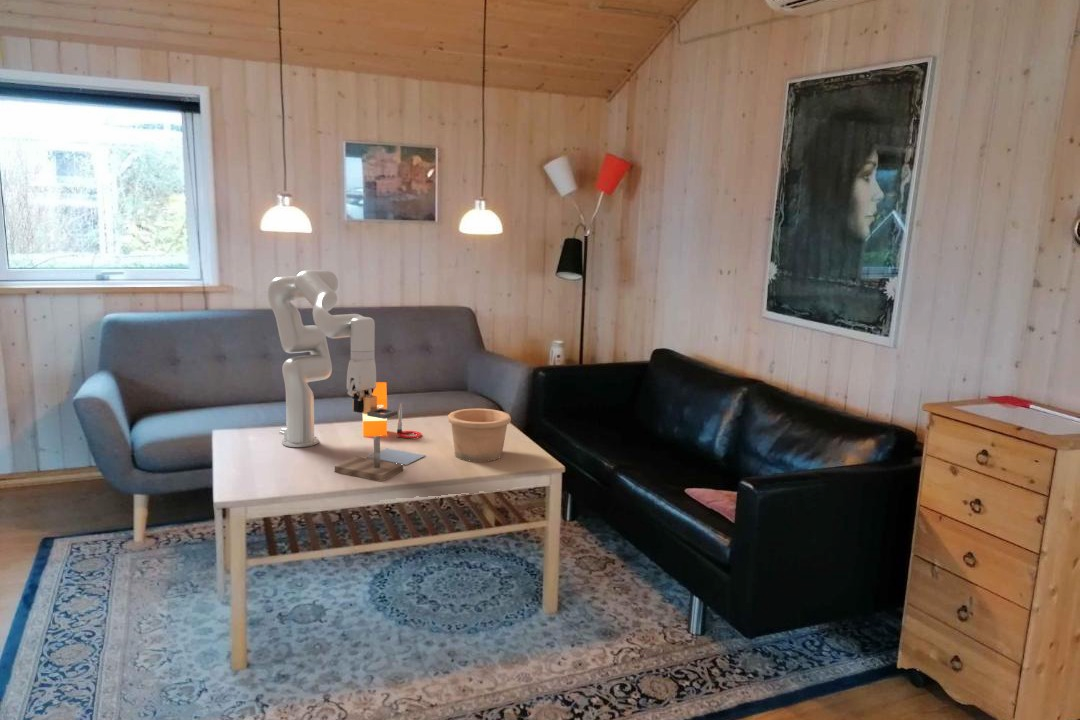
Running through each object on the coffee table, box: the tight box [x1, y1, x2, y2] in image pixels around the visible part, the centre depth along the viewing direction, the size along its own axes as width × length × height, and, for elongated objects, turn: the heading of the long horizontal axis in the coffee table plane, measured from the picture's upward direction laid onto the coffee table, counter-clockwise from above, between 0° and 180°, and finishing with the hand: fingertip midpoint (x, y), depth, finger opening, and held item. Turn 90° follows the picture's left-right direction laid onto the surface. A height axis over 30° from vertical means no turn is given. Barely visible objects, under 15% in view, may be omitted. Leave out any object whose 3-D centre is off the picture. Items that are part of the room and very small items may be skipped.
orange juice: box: [362, 381, 388, 437], centre depth 286 cm, size 8×9×20 cm
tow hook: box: [395, 402, 423, 439], centre depth 285 cm, size 8×13×9 cm
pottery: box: [447, 407, 512, 462], centre depth 265 cm, size 22×22×14 cm
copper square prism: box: [352, 393, 398, 419], centre depth 243 cm, size 14×7×6 cm, turn 65°
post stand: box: [334, 436, 404, 482], centre depth 242 cm, size 18×12×12 cm, turn 67°
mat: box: [366, 448, 426, 466], centre depth 259 cm, size 16×12×1 cm
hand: (362, 410), depth 245 cm, fingers closed on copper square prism, 3 cm apart
